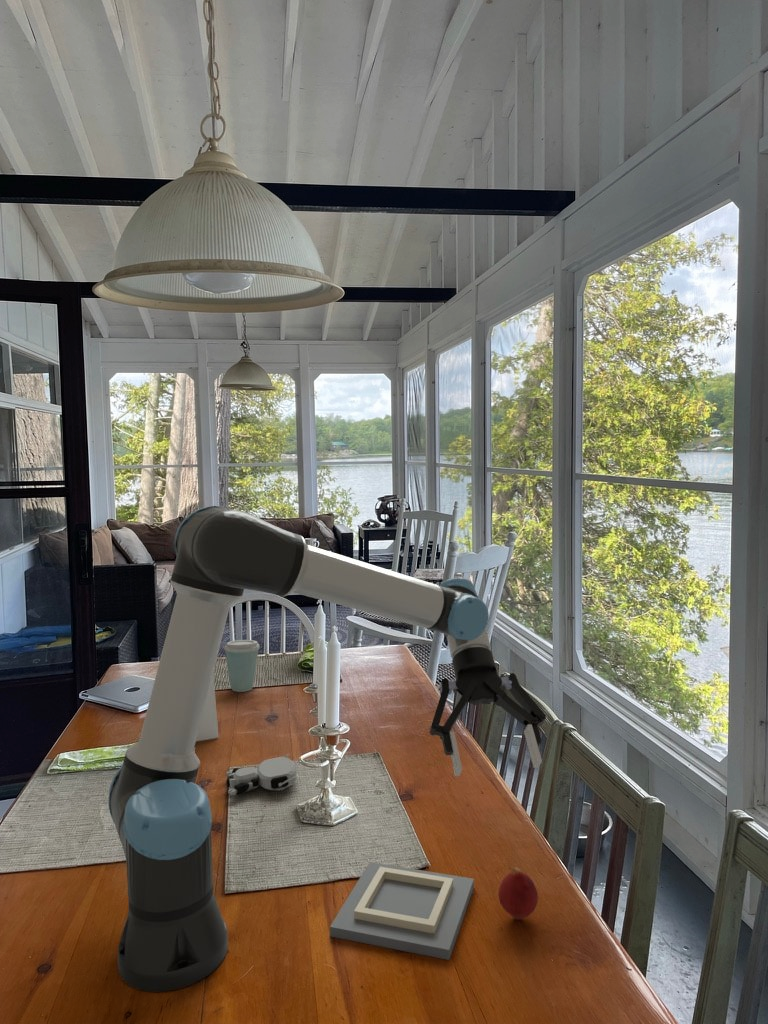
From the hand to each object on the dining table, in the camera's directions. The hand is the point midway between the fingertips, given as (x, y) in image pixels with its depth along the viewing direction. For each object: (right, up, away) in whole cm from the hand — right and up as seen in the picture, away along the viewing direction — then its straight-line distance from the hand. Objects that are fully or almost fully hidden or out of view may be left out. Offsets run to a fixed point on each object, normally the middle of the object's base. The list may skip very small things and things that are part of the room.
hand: (498, 769), depth 121 cm
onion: (+2, -20, -9) cm, 22 cm away
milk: (-69, -15, +69) cm, 98 cm away
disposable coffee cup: (-62, -12, +105) cm, 122 cm away
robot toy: (-45, -17, +37) cm, 61 cm away
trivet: (-16, -20, -7) cm, 26 cm away
